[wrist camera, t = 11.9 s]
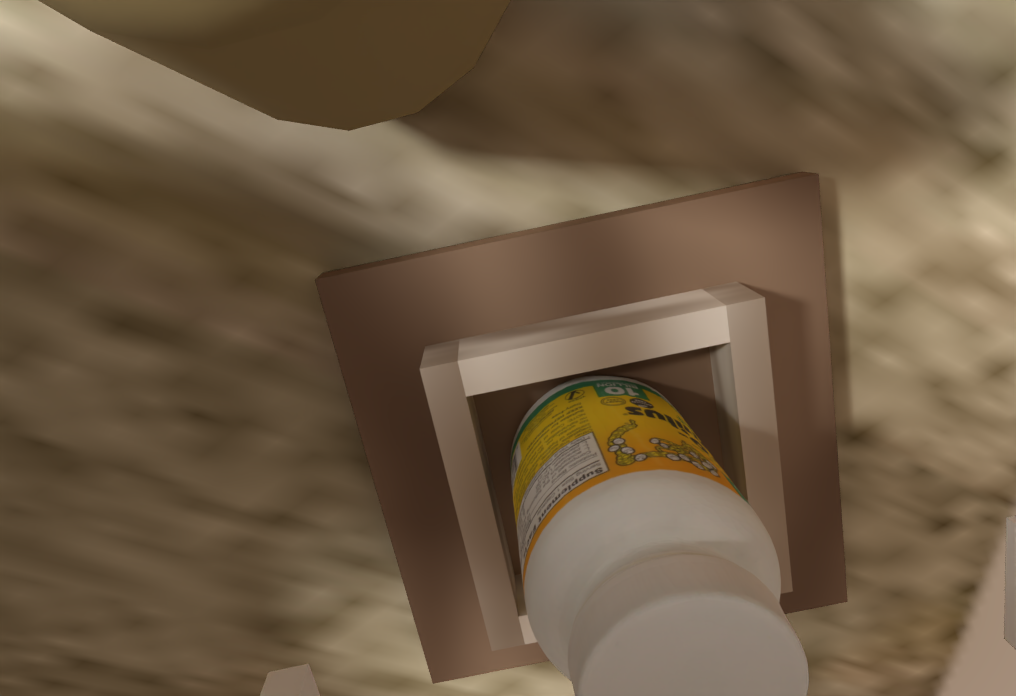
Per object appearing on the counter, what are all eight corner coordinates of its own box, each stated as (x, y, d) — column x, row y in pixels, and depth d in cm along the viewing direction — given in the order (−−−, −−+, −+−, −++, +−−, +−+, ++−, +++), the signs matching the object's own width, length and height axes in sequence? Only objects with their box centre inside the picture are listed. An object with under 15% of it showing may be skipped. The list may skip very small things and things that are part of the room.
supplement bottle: (472, 457, 21) (467, 702, 12) (601, 332, 20) (706, 489, 11) (596, 564, 22) (680, 864, 13) (723, 450, 21) (912, 685, 12)
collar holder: (434, 661, 24) (429, 732, 21) (322, 272, 20) (296, 295, 17) (832, 582, 24) (880, 644, 21) (801, 171, 20) (856, 177, 17)
